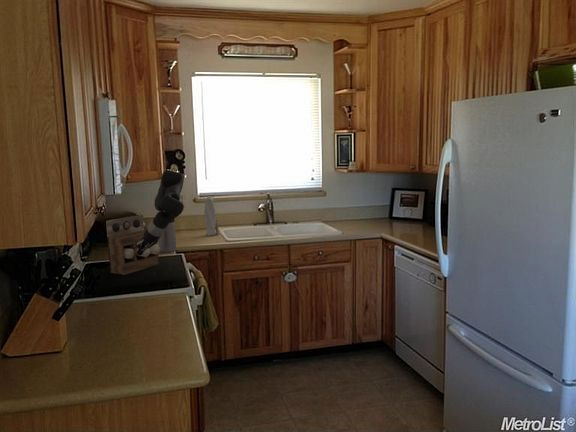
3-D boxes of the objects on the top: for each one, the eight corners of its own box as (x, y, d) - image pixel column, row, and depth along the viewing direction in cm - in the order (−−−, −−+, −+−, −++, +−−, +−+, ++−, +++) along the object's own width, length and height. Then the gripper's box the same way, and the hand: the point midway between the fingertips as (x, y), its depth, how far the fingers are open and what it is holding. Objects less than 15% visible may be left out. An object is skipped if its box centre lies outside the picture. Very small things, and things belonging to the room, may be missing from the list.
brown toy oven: (110, 272, 247) (105, 220, 243) (145, 262, 266) (141, 214, 262) (123, 274, 241) (119, 221, 238) (158, 264, 261) (155, 215, 257)
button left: (116, 258, 246) (116, 248, 245) (124, 256, 250) (124, 246, 249) (126, 259, 242) (125, 249, 242) (134, 257, 246) (133, 247, 246)
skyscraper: (208, 236, 339) (205, 195, 335) (203, 235, 346) (200, 195, 342) (219, 235, 344) (217, 194, 340) (214, 233, 350) (212, 194, 346)
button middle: (132, 256, 249) (132, 246, 249) (140, 254, 254) (139, 244, 253) (142, 257, 246) (142, 247, 245) (150, 255, 250) (149, 245, 249)
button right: (143, 253, 255) (142, 244, 254) (150, 251, 259) (149, 242, 258) (152, 255, 251) (152, 245, 251) (160, 253, 256) (159, 243, 255)
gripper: (161, 222, 239) (145, 245, 247) (139, 226, 228) (123, 250, 236) (170, 233, 237) (153, 257, 245) (148, 238, 226) (132, 262, 234)
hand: (139, 253), depth 240 cm, fingers closed
